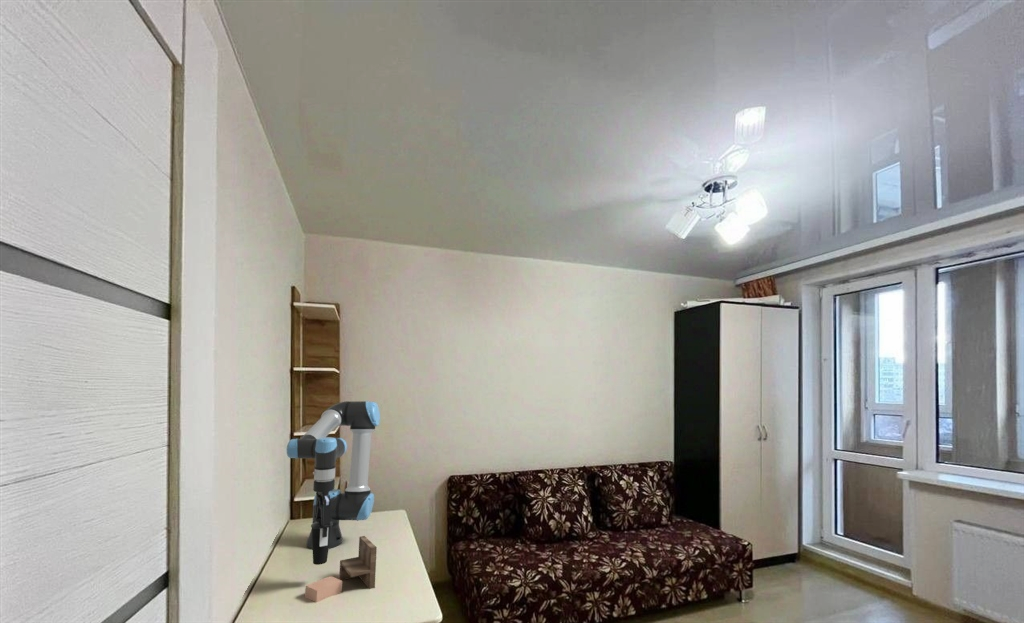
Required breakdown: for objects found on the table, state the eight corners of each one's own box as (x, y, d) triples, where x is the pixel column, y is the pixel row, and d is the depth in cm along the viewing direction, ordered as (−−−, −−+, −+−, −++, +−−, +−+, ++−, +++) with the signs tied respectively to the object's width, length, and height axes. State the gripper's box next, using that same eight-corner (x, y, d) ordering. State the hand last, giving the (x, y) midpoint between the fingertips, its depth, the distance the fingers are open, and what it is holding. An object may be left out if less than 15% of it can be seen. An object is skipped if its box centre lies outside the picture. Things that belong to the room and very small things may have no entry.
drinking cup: (335, 559, 181) (337, 505, 183) (321, 567, 174) (324, 510, 176) (319, 556, 183) (321, 503, 186) (304, 564, 176) (307, 508, 178)
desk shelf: (339, 578, 182) (341, 539, 184) (362, 573, 187) (364, 535, 189) (349, 593, 170) (352, 552, 172) (374, 587, 175) (376, 547, 177)
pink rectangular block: (304, 597, 167) (305, 585, 168) (330, 587, 175) (330, 575, 176) (316, 603, 163) (317, 590, 164) (341, 592, 171) (342, 580, 172)
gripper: (308, 475, 188) (305, 536, 185) (319, 486, 171) (316, 553, 169) (328, 473, 192) (325, 532, 190) (341, 483, 176) (338, 548, 173)
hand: (321, 542), depth 179 cm, fingers closed on drinking cup, 7 cm apart
